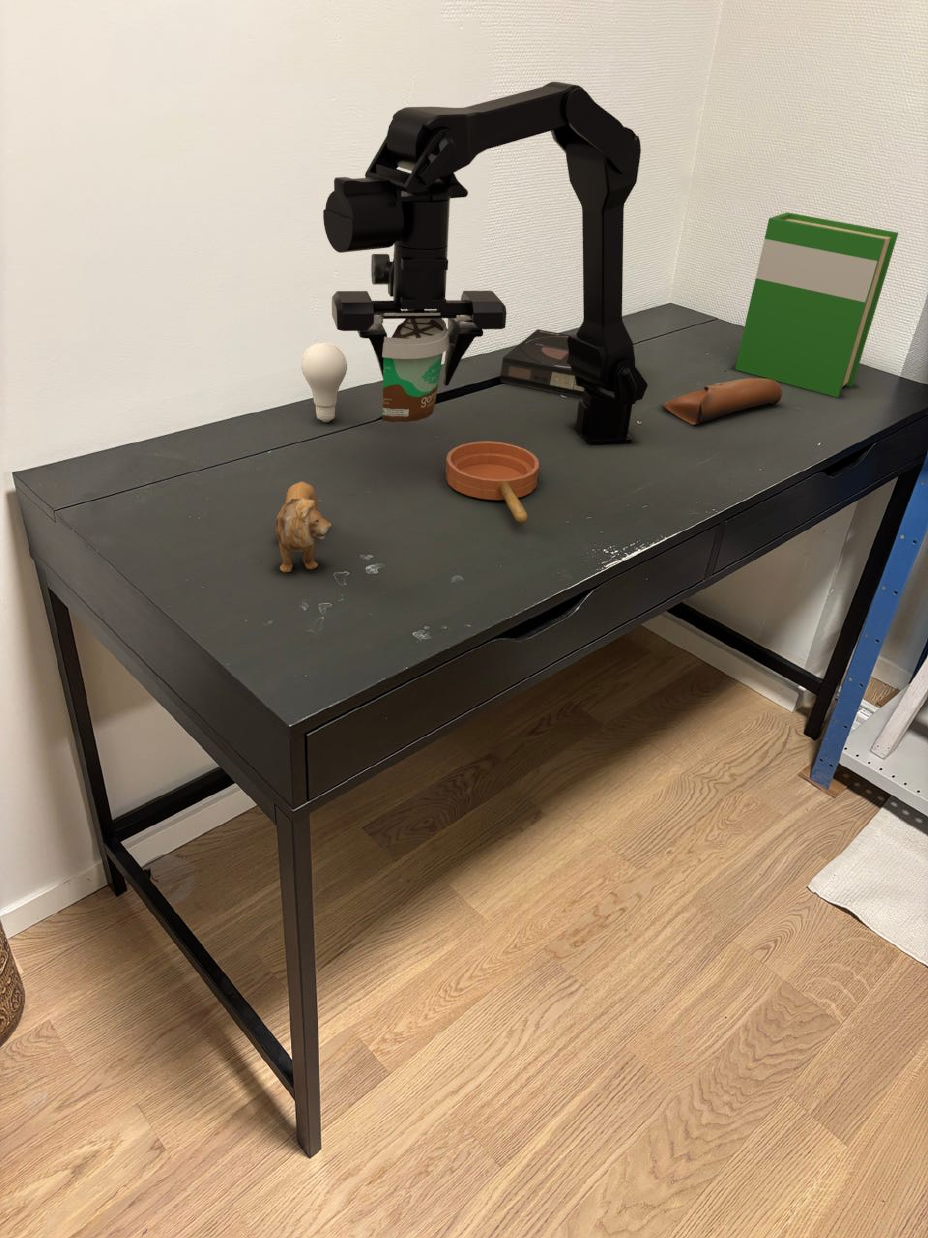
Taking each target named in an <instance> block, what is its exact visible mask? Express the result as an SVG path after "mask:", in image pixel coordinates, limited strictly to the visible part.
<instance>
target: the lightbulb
mask: <svg viewBox="0 0 928 1238" xmlns="http://www.w3.org/2000/svg"><path fill="white" fill-rule="evenodd" d="M300 365H301V367H300V368H301V372H302V375H303V378H304V379H305V381H306V382H307V384H308V386H309V387H310V390H311V393H312V397H313V404H314V405H315V413H316V418H317V419H318V420H320V421H322V422H323V423H329V422H330V421H332V420H333V419H335V417H336V405H337V402H338V394H339V390H340V387H341V386H342V383H343V381H344V380H345V377H346V376H347V371H348V363H347V359H346V356H345V354H344V352H343V350H341V349H340V348H339V347H338V346H336V345H335V344H332V343H330V342H326V341H323V342H316V343H314V344H312V345H310V346H309V347H307V349H306V350H305V352H304V353H303V355H302V357H301V363H300Z"/></svg>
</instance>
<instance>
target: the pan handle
mask: <svg viewBox="0 0 928 1238" xmlns="http://www.w3.org/2000/svg"><path fill="white" fill-rule="evenodd" d="M499 490H500V492H501V494H502V496H503V498H504V499H505V500H504V501H505V503H506V505H507V507H508V508H509V510H510V512H511V514H512V516H513V518H514V519H515V521H516V522H517V523H519V524H524V523H526V522H527V521H528V519H529V516H528V513H527V512H526V509H525V508H524V507H523V504H522V502H521V501H520V499H519V498H517V496H516V494H515V493H514V491H513V489H512V487H511V486H510V484H509V483H508V482H506V481H503V482H501V483H500V484H499Z"/></svg>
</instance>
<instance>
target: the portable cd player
mask: <svg viewBox="0 0 928 1238" xmlns="http://www.w3.org/2000/svg"><path fill="white" fill-rule="evenodd" d="M570 335H571V334H566V333H560V332H556V331H550V330H544V329H539V328H537V329H536V330H534V331H533V332H532V333H531V334H530V335H528V336H527V337H526V338H525V339H523V340H522V341H521V342H520V343H518V344H517V345H516V346H515V347H514V348H513V349H511V350H510V351H508V352H507V353H506V354H505V355H504V356H503V357H502V361H501V368H500V373H499V378H500V383H502V384H503V383H504V384H507V385H513V386H517V387H522V388H528V389H533V390H538V391H541V392H542V391H543V392H548V393H552V394H558V395H563V396H567V397H572V398H577V399H581V400H583V392H584V389H585V388H583V387H581V386H577V385H576V380H575V374H574V373H573V372H572V370H571V365H570V364H567V359H568V353H569V349H568V343H567V339H568V336H570Z"/></svg>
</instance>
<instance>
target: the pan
mask: <svg viewBox="0 0 928 1238" xmlns="http://www.w3.org/2000/svg"><path fill="white" fill-rule="evenodd" d="M445 462H446V463H445V480H446V482H447V484H448V486H450V488H452V489H453V490H455V491H456V492H458V493H460V494H463V495H465V496H467V497H471V498H476V499H479V500H486V501H487V500H488V501H505V499H504V498H503V496H502V494H501V492H500V490H499V484H500V483H501V482H503V481H506V482H508V483H509V484H510V486H511V487H512V489H513V491H514V493H515V494H516V496H517V498H518V499H519V498H522V497H526V496H527V495H529V494H531V493H532V492H534V490H535V489H536V487H537V486H538V479H539V478H538V477H539V468H540V461H539V459H538V458H537V456H536V455H535V454H534V453H532V452H531V451H529V450H528V449H525V448H523V447H521V446H518V445H515V444H511V443H506V442H501V441H500V442H499V441H490V440H489V441H487V440H485V441H484V440H483V441H474V442H468V443H462V444H460V445H458V446H455V447H454V448H452V449H451V450H450V451H449V452H448V453H447V456H446V461H445Z"/></svg>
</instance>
